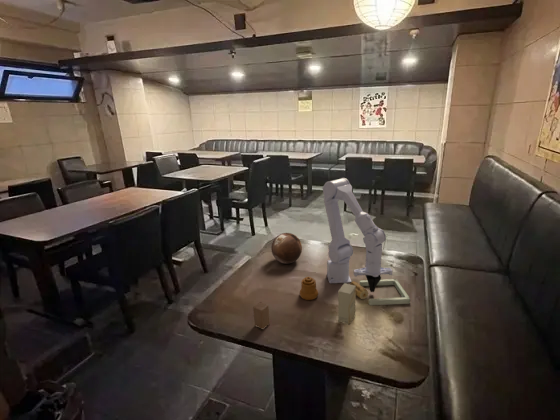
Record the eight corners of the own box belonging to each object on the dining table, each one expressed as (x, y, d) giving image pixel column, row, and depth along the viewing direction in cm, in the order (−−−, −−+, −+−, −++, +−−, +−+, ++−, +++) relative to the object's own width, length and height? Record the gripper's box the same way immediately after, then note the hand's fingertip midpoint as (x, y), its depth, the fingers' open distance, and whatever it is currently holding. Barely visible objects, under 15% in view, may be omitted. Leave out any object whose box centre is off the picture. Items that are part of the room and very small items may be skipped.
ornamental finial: (321, 298, 120) (303, 302, 118) (314, 289, 127) (297, 292, 125) (321, 281, 117) (302, 284, 116) (313, 272, 124) (296, 275, 122)
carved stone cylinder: (348, 289, 125) (348, 281, 124) (357, 287, 126) (357, 279, 125) (359, 300, 118) (359, 292, 116) (368, 298, 119) (369, 289, 117)
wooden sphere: (266, 264, 149) (264, 236, 145) (283, 252, 161) (282, 226, 156) (291, 272, 141) (290, 242, 137) (307, 259, 153) (307, 231, 148)
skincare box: (349, 325, 104) (350, 294, 101) (337, 321, 106) (337, 291, 103) (355, 315, 109) (356, 285, 106) (343, 311, 112) (344, 282, 108)
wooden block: (261, 320, 109) (260, 301, 107) (270, 324, 107) (268, 305, 104) (254, 326, 106) (252, 306, 104) (262, 330, 104) (261, 310, 101)
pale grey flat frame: (369, 305, 114) (369, 300, 114) (359, 284, 128) (359, 280, 127) (409, 303, 114) (410, 298, 113) (395, 283, 128) (396, 279, 127)
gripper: (357, 265, 113) (356, 297, 117) (396, 264, 113) (393, 295, 117) (352, 257, 119) (351, 287, 124) (389, 255, 119) (387, 285, 123)
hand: (371, 290), depth 121 cm, fingers closed
